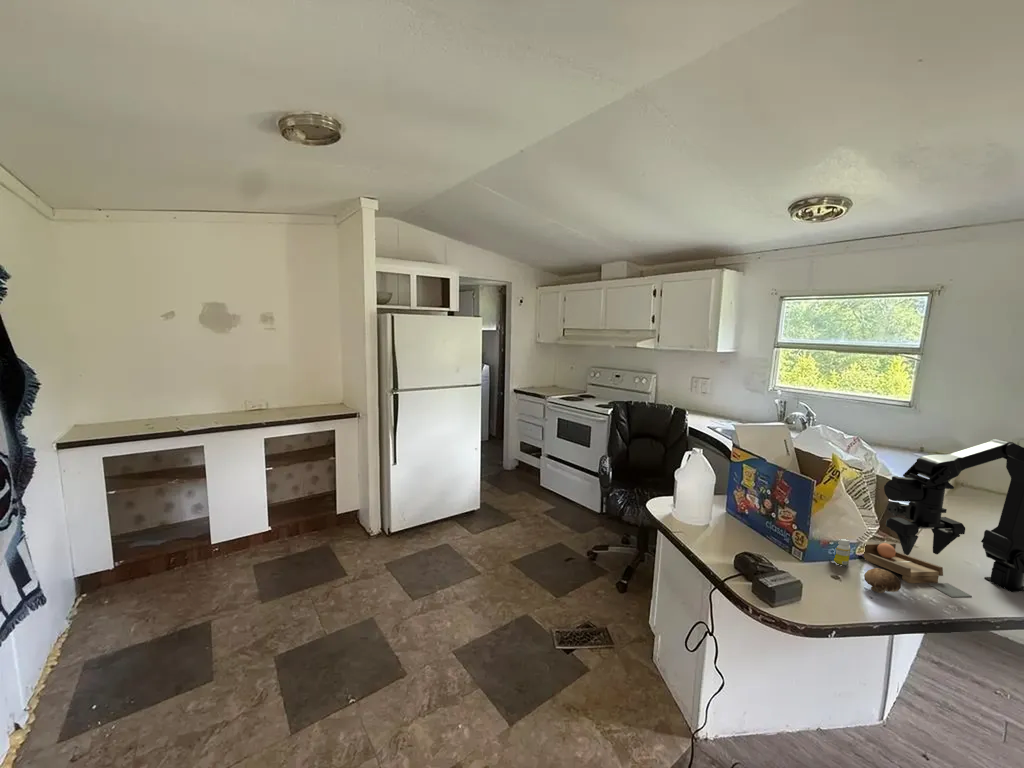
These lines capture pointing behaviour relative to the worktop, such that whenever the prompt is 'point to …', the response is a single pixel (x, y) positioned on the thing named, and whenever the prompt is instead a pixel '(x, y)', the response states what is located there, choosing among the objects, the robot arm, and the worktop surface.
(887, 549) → the ball
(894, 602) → the worktop surface
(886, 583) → the mushroom
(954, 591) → the coaster
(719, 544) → the worktop surface
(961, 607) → the worktop surface
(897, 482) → the robot arm
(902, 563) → the tray
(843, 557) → the supplement bottle
